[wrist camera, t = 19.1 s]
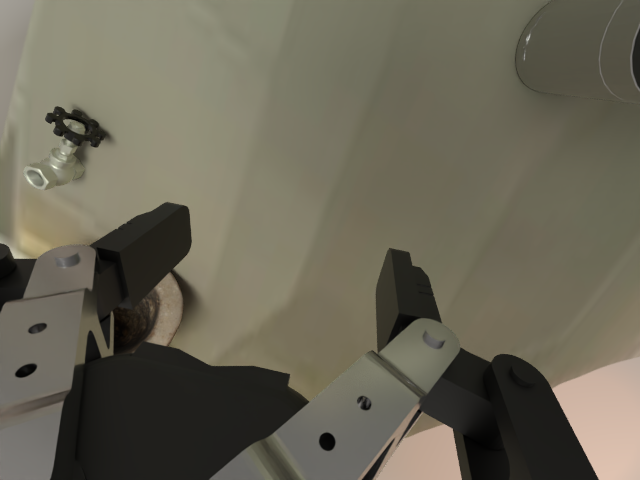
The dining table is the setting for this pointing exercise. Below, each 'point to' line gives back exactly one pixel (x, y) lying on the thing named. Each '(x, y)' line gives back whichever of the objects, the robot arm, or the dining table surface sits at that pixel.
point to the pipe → (149, 318)
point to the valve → (63, 151)
